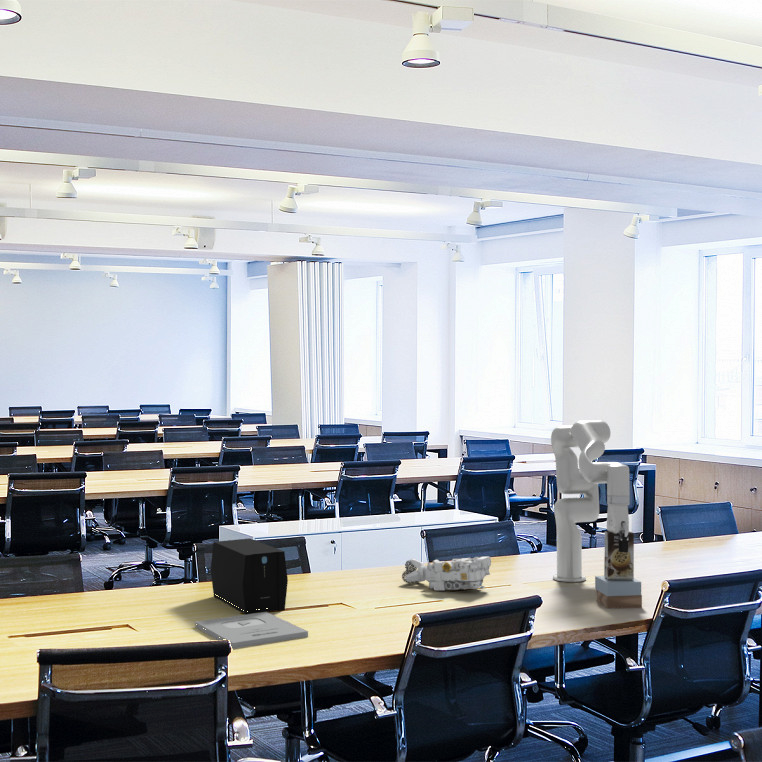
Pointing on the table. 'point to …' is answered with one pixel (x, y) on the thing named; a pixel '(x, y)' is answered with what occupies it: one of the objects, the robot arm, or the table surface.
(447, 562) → the spaceship
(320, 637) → the table surface
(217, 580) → the uninterruptible power supply
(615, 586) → the block upper
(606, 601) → the block lower
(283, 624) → the award plaque
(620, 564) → the coffee box
